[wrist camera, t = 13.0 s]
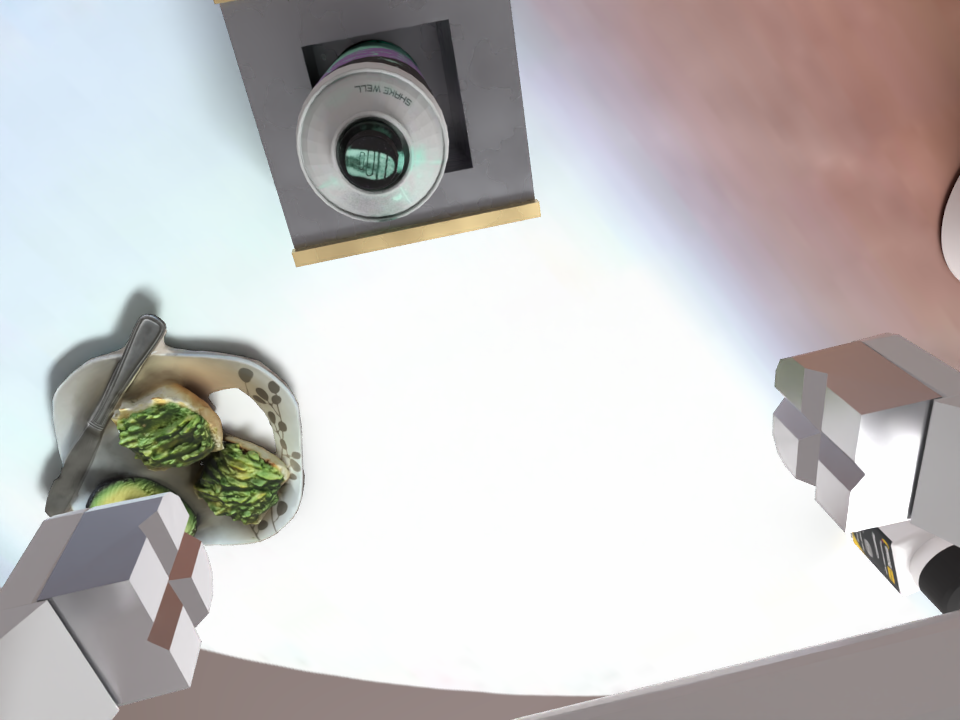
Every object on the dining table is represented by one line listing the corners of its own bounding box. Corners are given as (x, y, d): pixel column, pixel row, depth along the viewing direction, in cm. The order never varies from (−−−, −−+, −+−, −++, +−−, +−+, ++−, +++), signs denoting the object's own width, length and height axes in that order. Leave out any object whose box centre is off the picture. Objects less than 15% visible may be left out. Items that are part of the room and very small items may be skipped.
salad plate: (20, 295, 44) (-15, 325, 40) (310, 314, 47) (305, 343, 43) (61, 532, 52) (36, 577, 48) (303, 532, 56) (299, 574, 52)
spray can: (439, 117, 41) (482, 205, 23) (355, 155, 41) (336, 270, 24) (399, 22, 38) (414, 40, 21) (310, 63, 39) (250, 116, 21)
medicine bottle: (840, 490, 62) (937, 590, 52) (914, 457, 62) (1027, 551, 51) (852, 542, 66) (945, 645, 55) (922, 510, 65) (1030, 609, 55)
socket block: (475, -57, 38) (505, -71, 30) (508, 178, 45) (540, 216, 37) (240, -14, 38) (208, -17, 30) (307, 218, 44) (296, 267, 36)
